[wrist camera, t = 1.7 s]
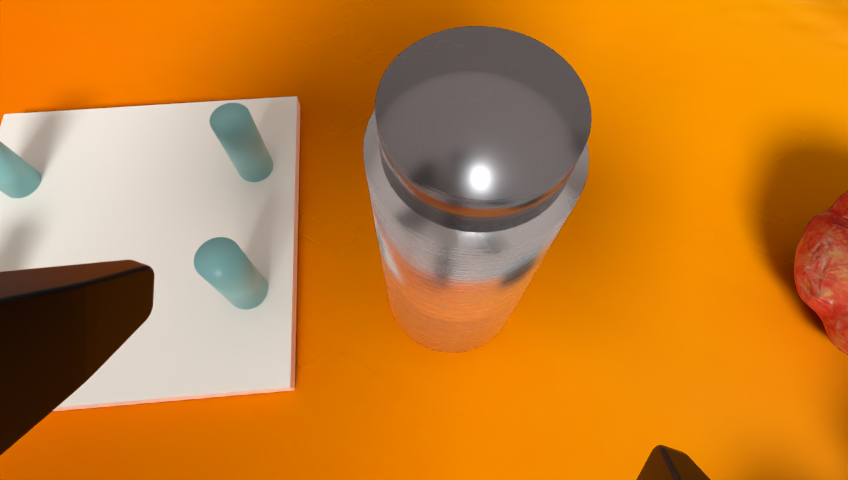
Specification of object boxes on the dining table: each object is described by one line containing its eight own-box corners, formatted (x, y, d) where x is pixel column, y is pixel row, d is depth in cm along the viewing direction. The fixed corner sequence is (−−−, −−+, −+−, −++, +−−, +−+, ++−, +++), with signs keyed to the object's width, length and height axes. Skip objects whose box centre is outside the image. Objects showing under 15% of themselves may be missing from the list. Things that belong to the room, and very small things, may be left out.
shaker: (462, 380, 20) (514, 271, 9) (361, 298, 21) (302, 119, 11) (538, 281, 22) (656, 91, 11) (440, 211, 23) (459, -19, 12)
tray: (295, 390, 20) (264, 369, 16) (-76, 422, 19) (-202, 409, 15) (300, 106, 26) (279, 41, 22) (16, 124, 25) (-58, 60, 21)
